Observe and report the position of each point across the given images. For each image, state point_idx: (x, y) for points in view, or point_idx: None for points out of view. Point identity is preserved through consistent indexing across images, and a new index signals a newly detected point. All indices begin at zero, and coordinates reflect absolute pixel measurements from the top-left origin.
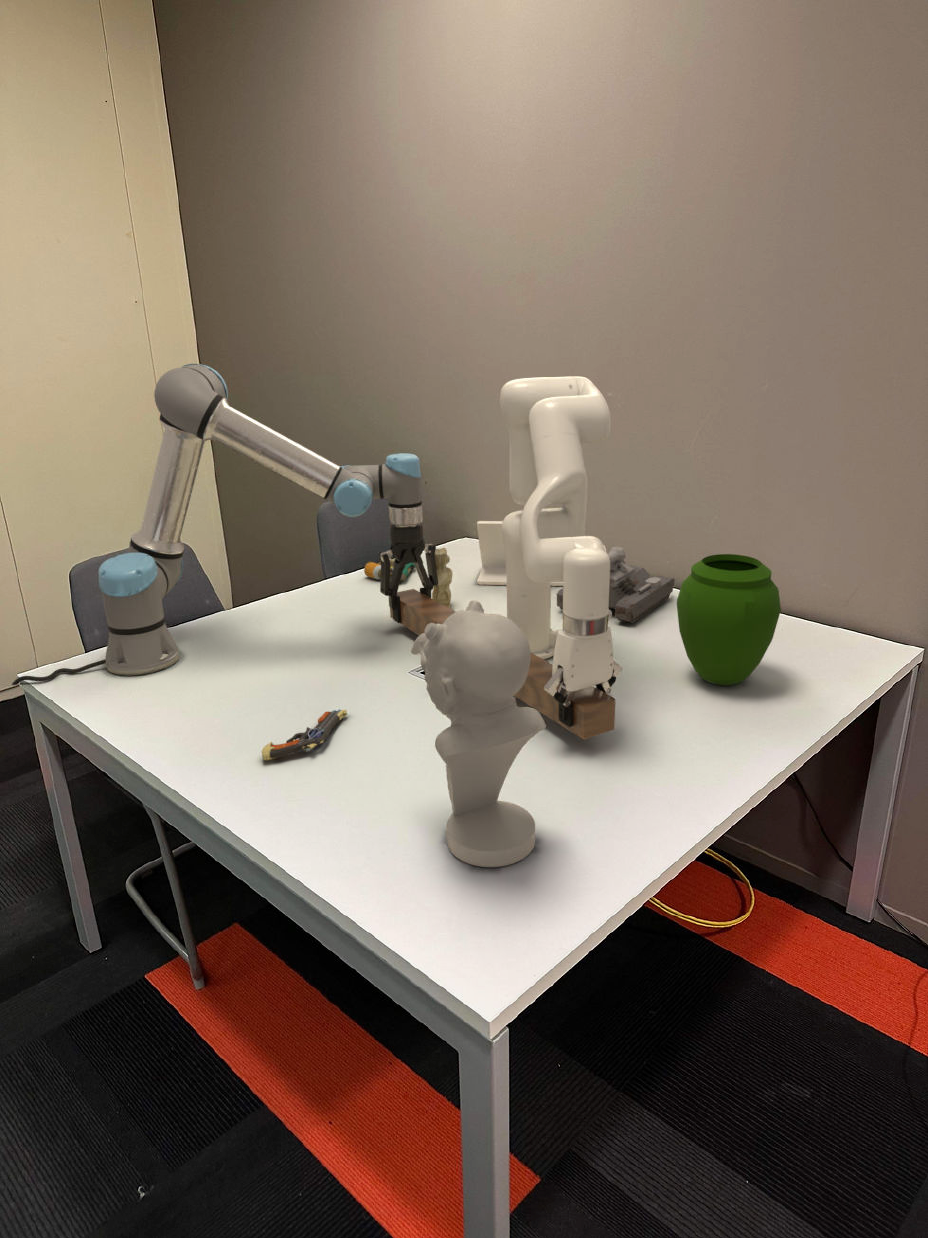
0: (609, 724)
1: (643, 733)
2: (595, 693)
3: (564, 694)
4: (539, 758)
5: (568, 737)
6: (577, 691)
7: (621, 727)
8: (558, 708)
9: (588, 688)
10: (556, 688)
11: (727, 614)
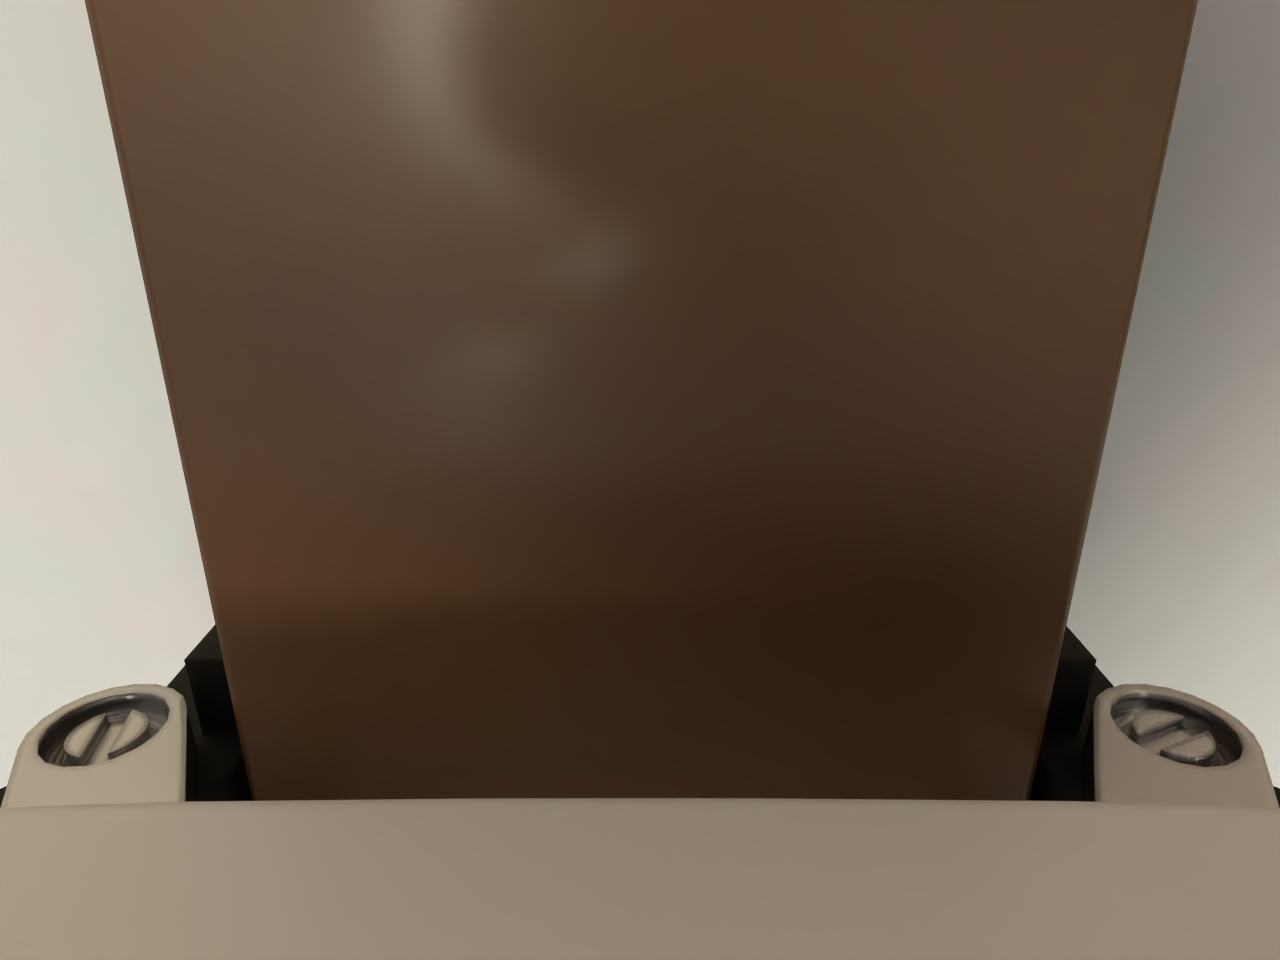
0: None
1: (1156, 651)
2: None
3: (284, 710)
4: (128, 518)
5: None
6: (607, 736)
7: (1110, 476)
8: (185, 666)
9: (889, 746)
10: (271, 374)
11: None
